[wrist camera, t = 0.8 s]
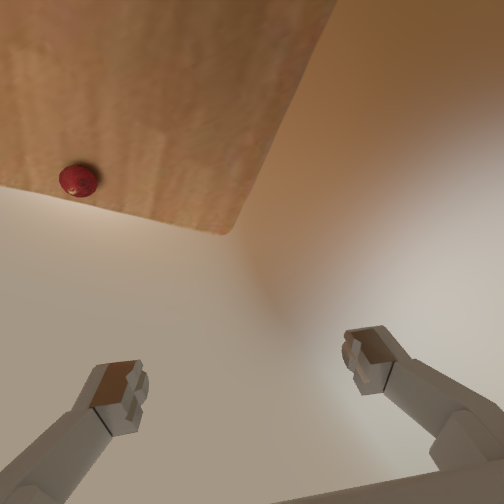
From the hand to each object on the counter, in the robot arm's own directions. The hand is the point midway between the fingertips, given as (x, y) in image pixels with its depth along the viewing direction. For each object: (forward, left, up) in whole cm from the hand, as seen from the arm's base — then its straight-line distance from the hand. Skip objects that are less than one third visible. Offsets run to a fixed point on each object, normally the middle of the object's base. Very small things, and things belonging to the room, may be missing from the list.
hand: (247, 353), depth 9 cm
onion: (+19, -18, -49) cm, 55 cm away
